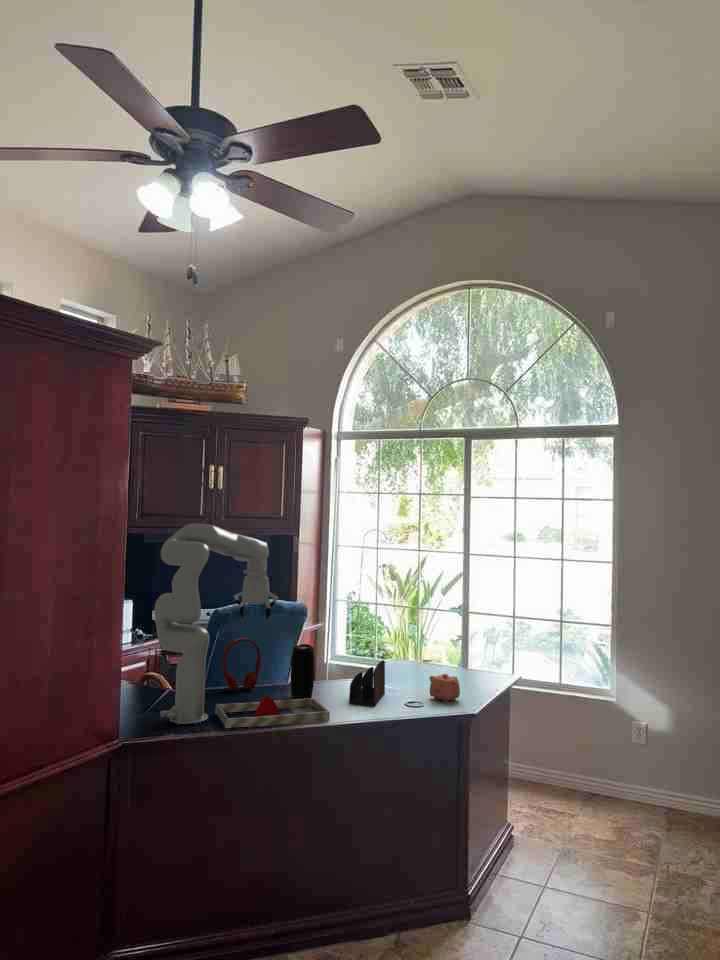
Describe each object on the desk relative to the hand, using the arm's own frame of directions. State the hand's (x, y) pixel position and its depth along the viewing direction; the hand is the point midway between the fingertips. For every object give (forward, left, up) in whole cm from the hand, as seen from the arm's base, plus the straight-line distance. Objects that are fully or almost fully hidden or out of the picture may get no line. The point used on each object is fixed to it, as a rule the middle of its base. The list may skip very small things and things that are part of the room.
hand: (255, 617), depth 287 cm
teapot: (+59, -44, -29) cm, 79 cm away
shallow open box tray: (-9, -32, -29) cm, 44 cm away
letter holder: (+34, -29, -29) cm, 53 cm away
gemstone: (-12, -32, -29) cm, 45 cm away
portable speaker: (+13, -16, -29) cm, 35 cm away
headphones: (-2, +5, -29) cm, 29 cm away
